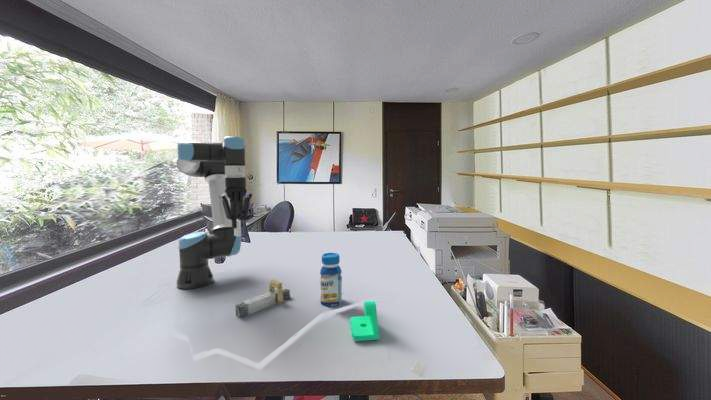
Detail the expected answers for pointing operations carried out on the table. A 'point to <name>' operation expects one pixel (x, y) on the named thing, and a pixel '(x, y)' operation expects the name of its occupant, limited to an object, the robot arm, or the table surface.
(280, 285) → the brushed brass block
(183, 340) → the table surface
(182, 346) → the table surface
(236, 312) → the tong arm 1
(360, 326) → the camera mount
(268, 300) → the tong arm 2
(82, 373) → the table surface
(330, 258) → the beverage bottle
